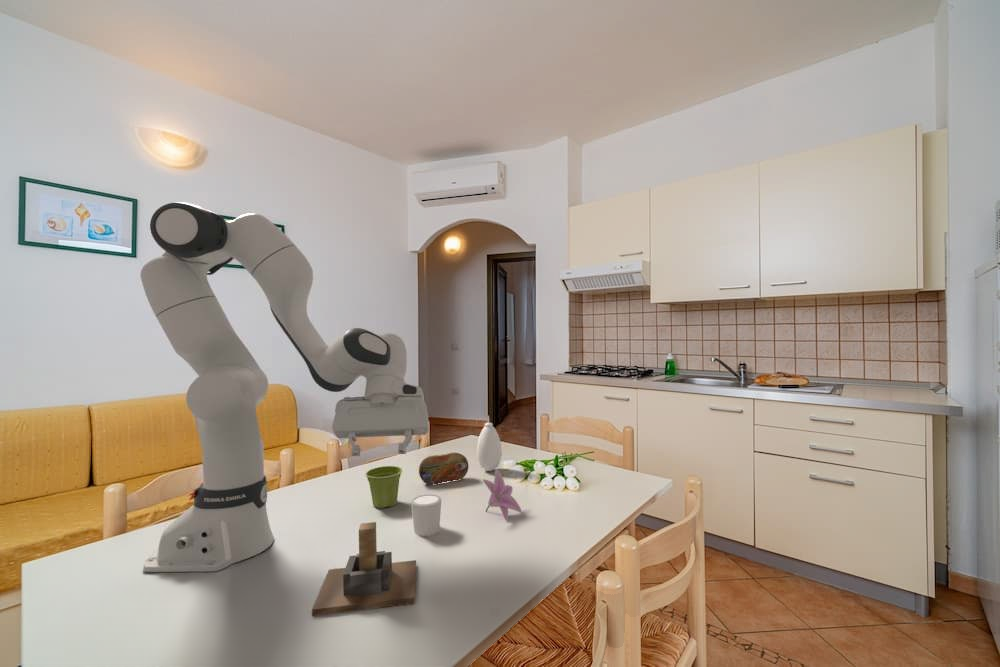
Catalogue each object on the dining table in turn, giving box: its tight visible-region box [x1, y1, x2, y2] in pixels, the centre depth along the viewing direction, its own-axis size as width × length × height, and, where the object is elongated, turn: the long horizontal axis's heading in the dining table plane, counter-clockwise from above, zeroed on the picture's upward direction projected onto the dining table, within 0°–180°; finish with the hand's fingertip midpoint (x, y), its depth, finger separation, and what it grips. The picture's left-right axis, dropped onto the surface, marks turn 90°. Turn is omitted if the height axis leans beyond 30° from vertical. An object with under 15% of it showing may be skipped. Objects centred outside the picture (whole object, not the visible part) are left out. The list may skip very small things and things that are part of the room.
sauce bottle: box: [476, 415, 503, 472], centre depth 140 cm, size 8×8×18 cm
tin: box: [418, 452, 469, 486], centre depth 131 cm, size 15×3×8 cm, turn 114°
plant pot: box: [365, 465, 403, 509], centre depth 114 cm, size 9×9×9 cm
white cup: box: [410, 493, 442, 537], centre depth 99 cm, size 7×7×7 cm
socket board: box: [311, 550, 417, 617], centre depth 76 cm, size 16×12×4 cm
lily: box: [482, 467, 522, 522], centre depth 107 cm, size 12×12×10 cm
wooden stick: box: [358, 521, 378, 571], centre depth 76 cm, size 3×3×10 cm
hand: (378, 454), depth 90 cm, fingers open, 8 cm apart
